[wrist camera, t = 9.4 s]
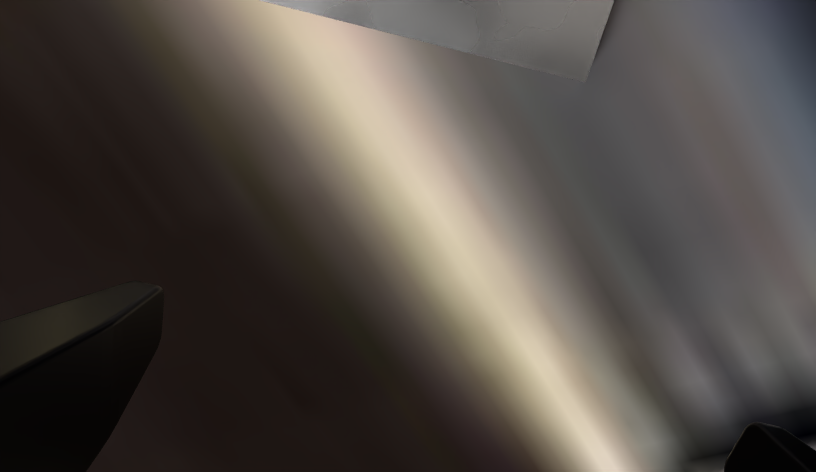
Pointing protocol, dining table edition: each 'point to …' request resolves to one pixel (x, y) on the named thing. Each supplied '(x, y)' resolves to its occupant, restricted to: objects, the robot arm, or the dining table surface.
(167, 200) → the dining table surface
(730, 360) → the dining table surface
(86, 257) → the dining table surface
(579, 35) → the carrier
